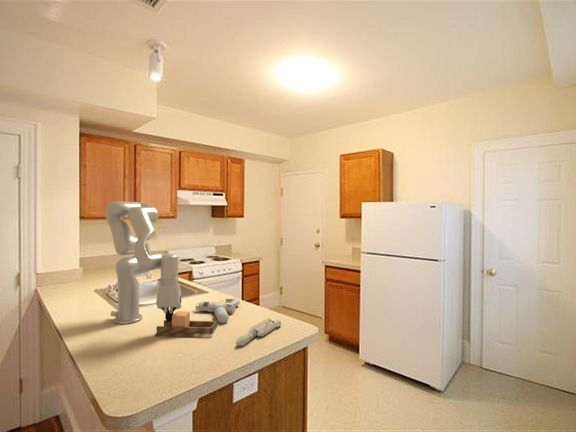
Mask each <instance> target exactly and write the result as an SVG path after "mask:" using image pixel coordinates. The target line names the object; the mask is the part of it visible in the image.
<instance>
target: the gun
mask: <svg viewBox="0 0 576 432" xmlns="http://www.w3.org/2000/svg"><path fill="white" fill-rule="evenodd" d="M224 301H225V302H224ZM238 305H240V299H239V298H224V299H223V300H220V301H218V302H215V301H200V302H199V303H195V306H194V307H195V308H194V310H195V311H199V312H201V313H214V314H215V317H216V319H217V320H216V321H217V323H220V324H225V323H226V324H227V322H228V321H229V315H234V314H235V313H236V307H237V306H238Z"/></svg>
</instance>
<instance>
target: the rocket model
mask: <svg viewBox="0 0 576 432" xmlns="http://www.w3.org/2000/svg"><path fill="white" fill-rule="evenodd" d="M281 325H282V322H281V320H278V319H277V320H275V321H274V320H271V318H269V317H267V318H266V319H265V320H262V321H261V322H259V323H257V324H255V325H254V326H252V327H250V328H249V329H248V333H245V334H242V335H241V336H239V337H238V338H237V339H236V341H235V345H236V346H238V347H243V346H245V345H247V344H248V343H249V342H250V341H251V340H252V339H255V338H256V337H264V336H265V335H267V334H269V333H271V332H272V331H273V330H275V329H277V328H278V327H280V326H281Z"/></svg>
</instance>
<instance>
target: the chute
mask: <svg viewBox="0 0 576 432" xmlns="http://www.w3.org/2000/svg"><path fill="white" fill-rule="evenodd" d="M218 327H219V326H218V320H213V321H212V320H190V327H172V321H171V322H166V319H164V320H163V325H160V326H159V325H158V326H156V333H155V334H154V337H166V338H167V337H169V338H171V337H172V338H212V337H213V335H214V334H215V333H216V331H217V329H218Z"/></svg>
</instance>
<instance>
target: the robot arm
mask: <svg viewBox="0 0 576 432" xmlns="http://www.w3.org/2000/svg"><path fill="white" fill-rule="evenodd" d="M159 215H160V214H159V212H158V210H157V208H155V207H154V206H153V205H149V204H146V203H144V202H140V201H126V200H125V201H121V200H120V201H113V202H110V203H109V204H107V206H106V209H105V219H106V222H107V224H108V226H109V228H110V232H111V236H112V240H113V245H114V250H115V252H116V254H117V255H119V256H126V257H123V258H119V260H118V261H117V262H116V264H115V273H116V277H117V310H112V311H110V317H115V318H114V319H113V322H114V324H118V325H129V324H133V323H137V322H139V321H141V320H142V319H143V315H142V313H141V314H140V283H139V280H138V279H137V278H136V276H137V275H143V274H147V273H149V272H151V271H155V270H160V278H158V279H157V282H159V284H158V287H157V292H156V293H157V294H156V301H155V302H156V303H155V304H156V307H157V308H156V309H160V310H161V311H163V313H164V314H165V315H164V316H165V319H164V320H166V322H171V321H172V315H173V314H174V313H175V312H176V311H177V310H180V309H181V308H182V291H181V285H180V283H179V256H178V255H177V254H173V253H167V252H165V251H164V252H163V251H162V252H155V253H151V249H150V246H149V242H148V241H149V240H151V239H152V238H153V237H154V236H155V235H156V233H157V232H156V229H155V227H154V225H153V224H155V223H156V222H157V221H158V220H159ZM124 219H128V220H129V223H130V224H131V226H132V228H133V231H134V233H135V235H132V232H131V231H132V230H131V227H130V226H129V223H127V222H126V221H125V220H124ZM129 255H132V256H129ZM133 255H134V256H133ZM174 311H175V312H174Z"/></svg>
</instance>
